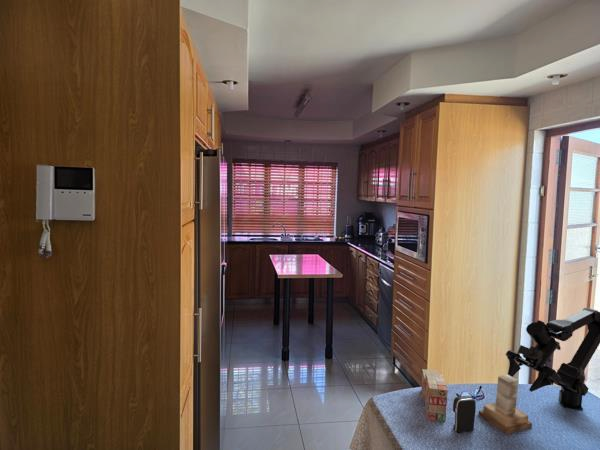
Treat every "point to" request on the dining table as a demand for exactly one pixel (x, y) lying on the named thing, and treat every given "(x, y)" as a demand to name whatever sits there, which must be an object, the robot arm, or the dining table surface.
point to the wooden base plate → (504, 429)
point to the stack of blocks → (434, 395)
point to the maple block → (505, 416)
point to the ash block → (506, 394)
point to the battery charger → (464, 413)
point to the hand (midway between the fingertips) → (518, 384)
